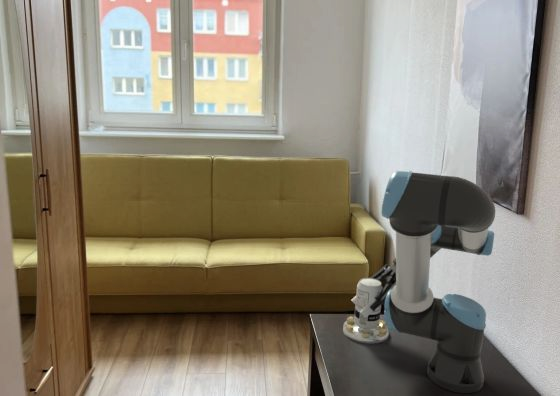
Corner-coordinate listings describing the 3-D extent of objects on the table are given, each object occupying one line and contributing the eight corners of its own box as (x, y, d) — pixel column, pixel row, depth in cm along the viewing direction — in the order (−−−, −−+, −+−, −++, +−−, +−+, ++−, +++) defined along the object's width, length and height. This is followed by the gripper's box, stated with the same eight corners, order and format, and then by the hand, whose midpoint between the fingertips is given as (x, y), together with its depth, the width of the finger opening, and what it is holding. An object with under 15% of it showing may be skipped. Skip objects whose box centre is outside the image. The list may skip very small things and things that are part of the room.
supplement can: (353, 317, 166) (357, 276, 162) (378, 320, 165) (382, 278, 161) (354, 328, 158) (357, 285, 154) (379, 331, 157) (384, 288, 153)
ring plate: (396, 332, 163) (397, 324, 162) (374, 349, 151) (375, 340, 151) (358, 317, 172) (358, 309, 171) (334, 332, 161) (334, 323, 160)
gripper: (430, 281, 150) (376, 331, 150) (402, 258, 170) (355, 302, 170) (416, 265, 147) (361, 316, 148) (389, 244, 168) (341, 288, 168)
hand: (358, 308), depth 159 cm, fingers closed on supplement can, 8 cm apart
